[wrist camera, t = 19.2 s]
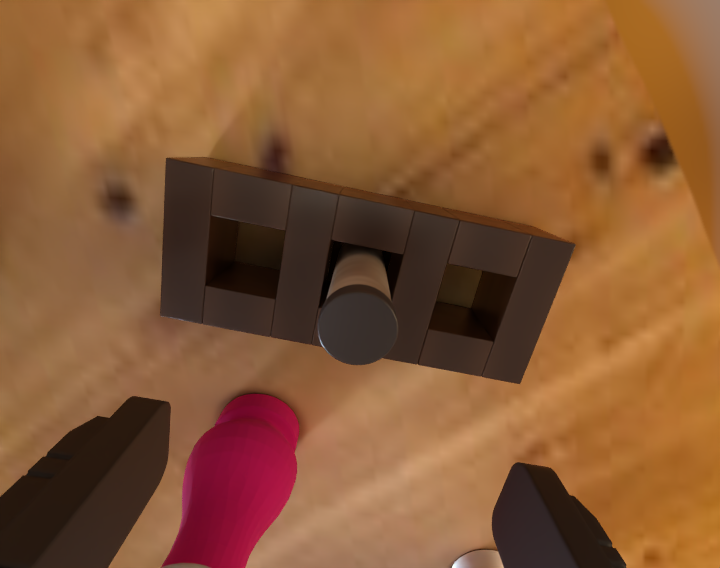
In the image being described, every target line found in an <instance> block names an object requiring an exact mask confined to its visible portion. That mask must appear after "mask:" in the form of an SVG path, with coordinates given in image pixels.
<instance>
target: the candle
mask: <svg viewBox="0 0 720 568" xmlns="http://www.w3.org/2000/svg"><path fill="white" fill-rule="evenodd" d="M452 568H504V567H503V564H502V561H501V558H500V555H499V552H498V551H494V550H477V551H473V552H470V553H467V554H465V555H463V556H462V557H460V558H459V559H458V560H457V561H456V562H455V563H454V564H453V566H452Z"/></svg>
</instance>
